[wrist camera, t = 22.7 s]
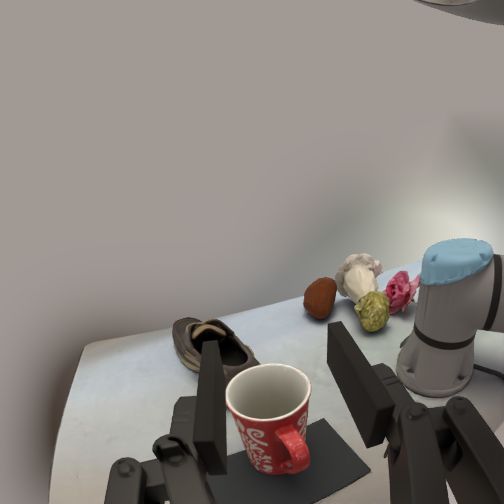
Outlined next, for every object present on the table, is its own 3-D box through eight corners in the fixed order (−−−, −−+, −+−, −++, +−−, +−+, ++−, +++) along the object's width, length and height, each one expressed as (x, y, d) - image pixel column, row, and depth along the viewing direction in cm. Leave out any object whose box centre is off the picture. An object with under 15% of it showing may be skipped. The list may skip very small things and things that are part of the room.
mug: (234, 440, 35) (216, 374, 31) (294, 422, 37) (290, 354, 33) (262, 510, 23) (248, 461, 19) (333, 484, 25) (345, 425, 21)
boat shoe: (205, 328, 67) (196, 288, 64) (293, 389, 44) (290, 339, 41) (164, 346, 61) (152, 304, 58) (241, 423, 38) (230, 374, 35)
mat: (323, 419, 37) (323, 417, 37) (370, 471, 26) (371, 469, 26) (194, 466, 31) (193, 464, 30) (220, 536, 20) (219, 535, 20)
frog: (326, 291, 72) (337, 341, 56) (343, 247, 67) (363, 292, 50) (366, 299, 73) (385, 347, 56) (386, 258, 67) (413, 302, 51)
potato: (329, 328, 63) (298, 324, 68) (344, 294, 70) (316, 292, 75) (322, 305, 59) (289, 302, 64) (338, 271, 67) (309, 270, 72)
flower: (383, 328, 62) (366, 291, 64) (398, 313, 68) (382, 279, 70) (423, 312, 53) (405, 272, 56) (434, 297, 60) (417, 261, 62)
